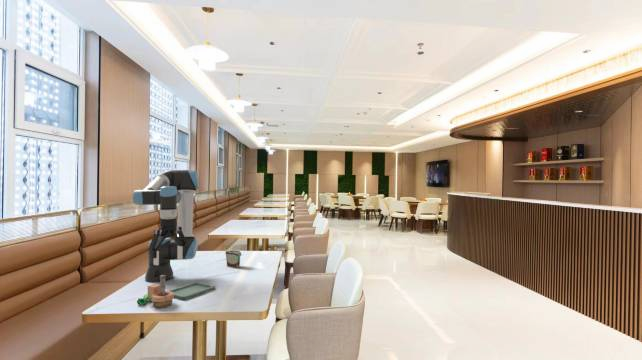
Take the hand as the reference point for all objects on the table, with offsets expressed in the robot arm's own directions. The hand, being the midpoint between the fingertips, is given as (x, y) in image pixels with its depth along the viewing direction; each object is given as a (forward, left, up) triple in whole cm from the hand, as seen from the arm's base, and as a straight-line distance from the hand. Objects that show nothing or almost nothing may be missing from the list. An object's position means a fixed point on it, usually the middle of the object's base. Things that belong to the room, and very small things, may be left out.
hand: (168, 261), depth 172 cm
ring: (+2, -6, -15) cm, 17 cm away
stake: (+4, -6, -18) cm, 20 cm away
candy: (-7, -6, -19) cm, 21 cm away
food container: (-17, +64, -19) cm, 69 cm away
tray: (0, +13, -18) cm, 23 cm away
